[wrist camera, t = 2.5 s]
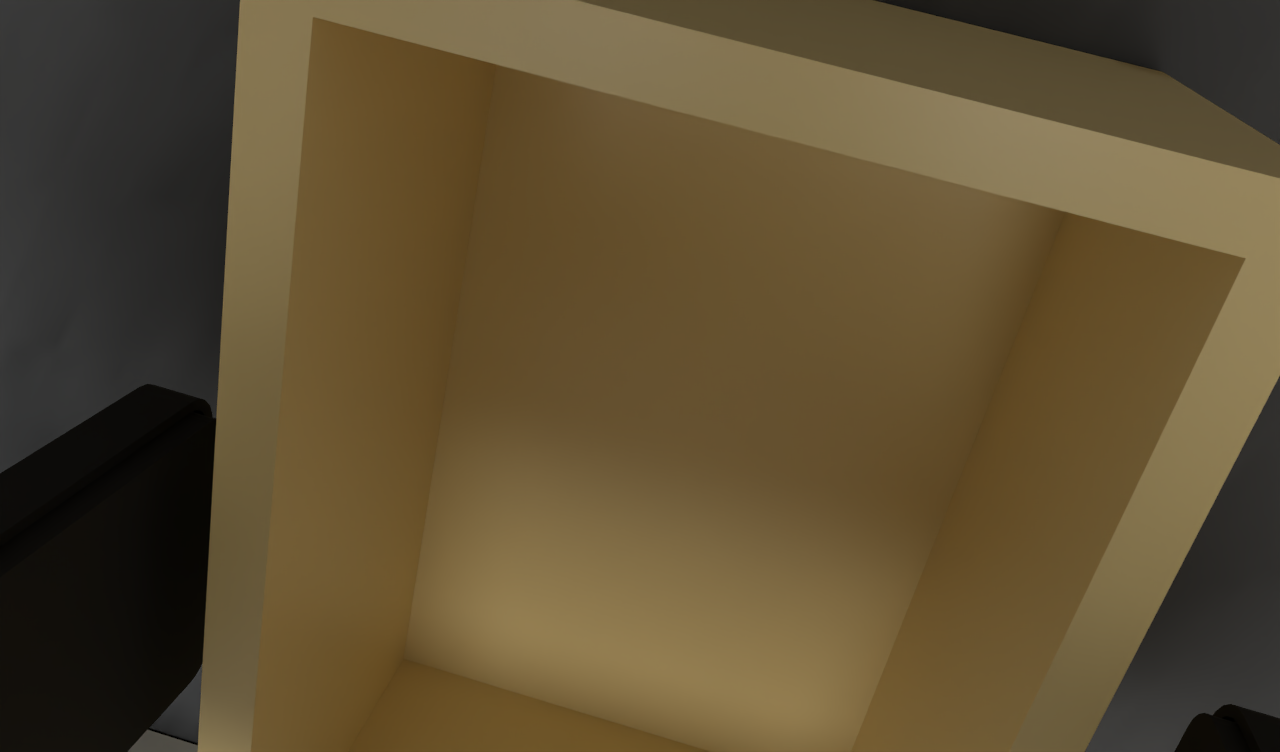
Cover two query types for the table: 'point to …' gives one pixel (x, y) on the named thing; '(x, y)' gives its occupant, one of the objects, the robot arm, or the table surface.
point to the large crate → (161, 744)
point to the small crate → (713, 376)
